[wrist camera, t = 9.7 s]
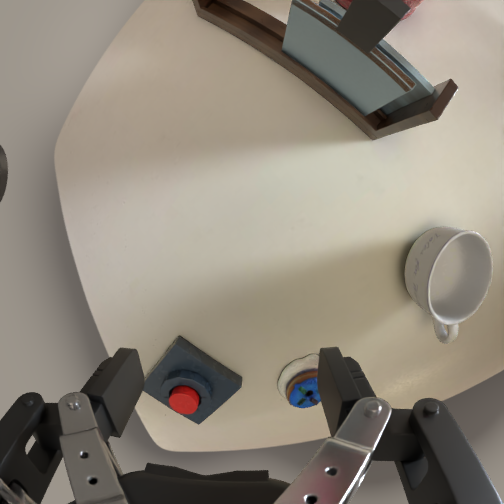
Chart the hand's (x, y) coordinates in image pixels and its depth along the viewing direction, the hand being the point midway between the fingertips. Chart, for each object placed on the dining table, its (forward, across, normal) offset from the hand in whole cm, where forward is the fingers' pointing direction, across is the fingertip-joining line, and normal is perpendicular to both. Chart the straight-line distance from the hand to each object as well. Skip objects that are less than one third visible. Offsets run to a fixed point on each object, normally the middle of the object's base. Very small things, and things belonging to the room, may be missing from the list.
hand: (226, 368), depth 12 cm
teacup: (+22, -24, +4) cm, 32 cm away
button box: (+22, +8, +17) cm, 29 cm away
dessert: (+22, -8, +18) cm, 29 cm away
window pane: (+20, -10, -19) cm, 29 cm away
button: (+18, +8, +17) cm, 26 cm away
